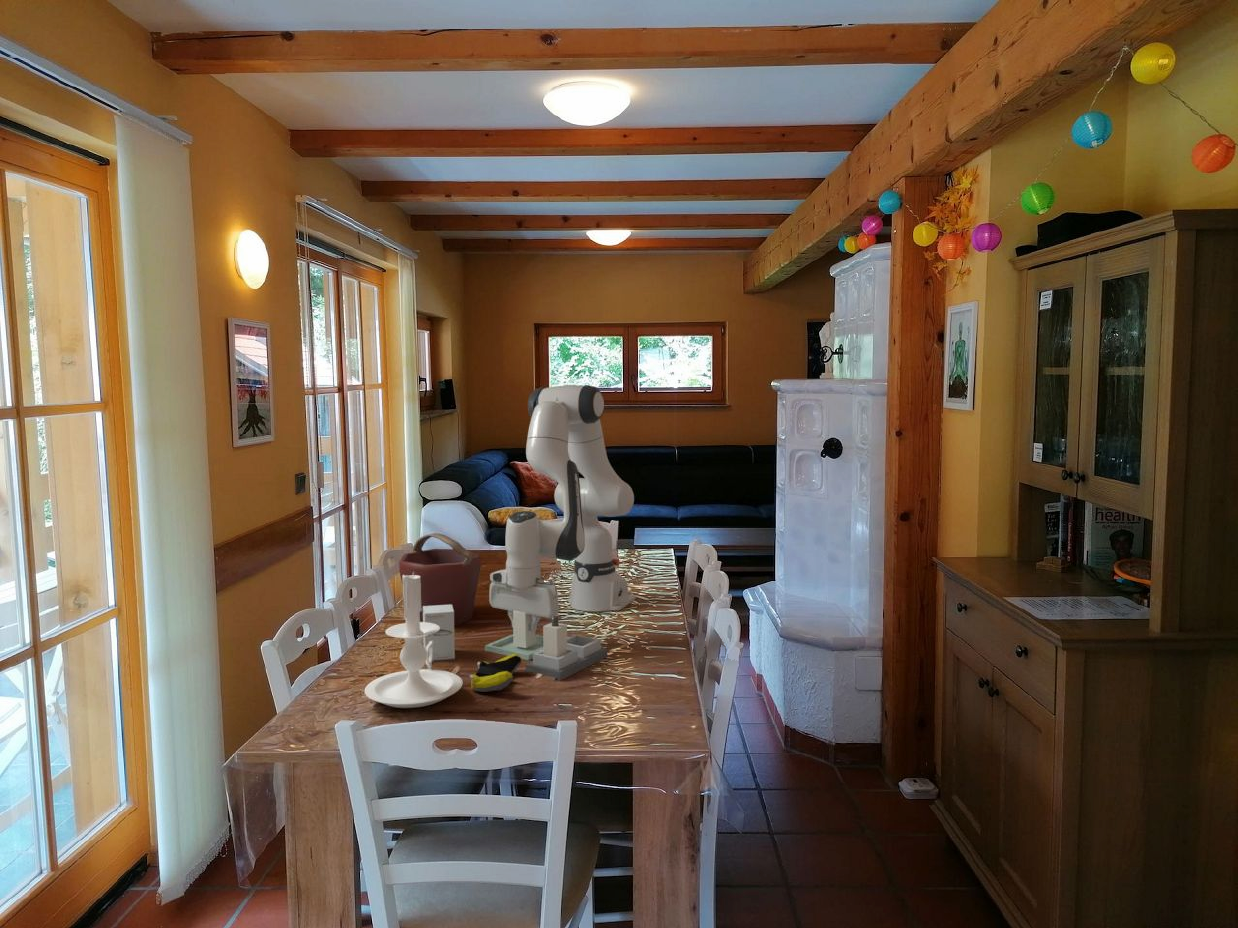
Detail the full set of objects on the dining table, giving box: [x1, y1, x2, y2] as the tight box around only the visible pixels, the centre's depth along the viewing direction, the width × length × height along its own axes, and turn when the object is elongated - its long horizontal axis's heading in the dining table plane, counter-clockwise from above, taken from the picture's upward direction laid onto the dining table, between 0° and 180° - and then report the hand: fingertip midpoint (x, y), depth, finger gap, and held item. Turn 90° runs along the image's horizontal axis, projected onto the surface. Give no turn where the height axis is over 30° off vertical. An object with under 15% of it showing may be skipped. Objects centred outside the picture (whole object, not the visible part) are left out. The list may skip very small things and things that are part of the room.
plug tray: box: [484, 634, 543, 661], centre depth 214 cm, size 14×14×2 cm
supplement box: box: [422, 604, 456, 663], centre depth 208 cm, size 7×7×13 cm
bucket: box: [398, 532, 482, 627], centre depth 239 cm, size 24×22×25 cm
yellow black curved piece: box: [469, 654, 522, 693], centre depth 190 cm, size 15×6×10 cm
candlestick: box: [364, 572, 464, 709], centre depth 182 cm, size 21×25×28 cm
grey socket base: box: [525, 615, 608, 682], centre depth 203 cm, size 20×10×13 cm, turn 148°
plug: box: [512, 611, 536, 648], centre depth 214 cm, size 4×4×11 cm
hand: (524, 628), depth 214 cm, fingers closed on plug, 4 cm apart
